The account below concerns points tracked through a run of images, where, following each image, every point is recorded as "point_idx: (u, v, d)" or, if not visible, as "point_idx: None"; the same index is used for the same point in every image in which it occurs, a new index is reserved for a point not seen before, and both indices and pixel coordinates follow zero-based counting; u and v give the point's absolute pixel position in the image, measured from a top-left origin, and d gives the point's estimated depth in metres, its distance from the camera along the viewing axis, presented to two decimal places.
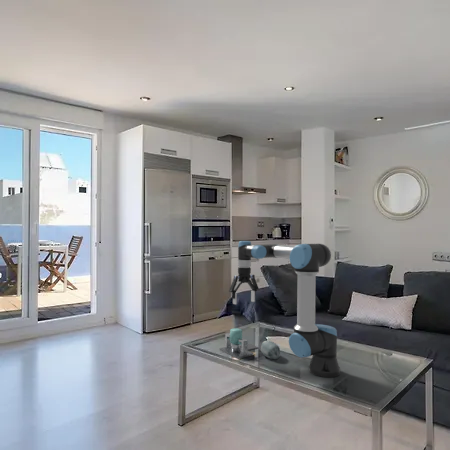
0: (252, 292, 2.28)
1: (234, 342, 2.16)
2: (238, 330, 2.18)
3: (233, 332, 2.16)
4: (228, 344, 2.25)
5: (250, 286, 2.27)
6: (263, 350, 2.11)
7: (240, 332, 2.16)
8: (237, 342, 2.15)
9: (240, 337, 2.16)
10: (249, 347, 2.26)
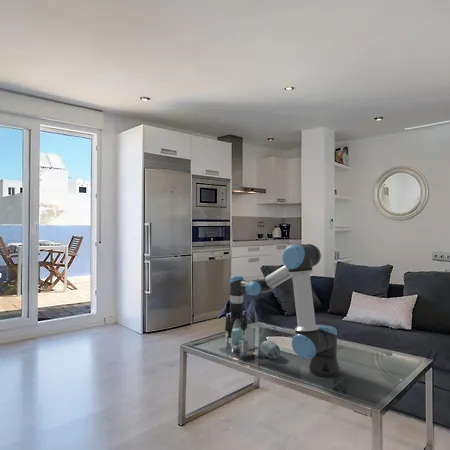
0: None
1: (234, 342, 2.16)
2: (238, 330, 2.18)
3: (233, 332, 2.16)
4: (228, 344, 2.25)
5: (239, 323, 2.21)
6: (263, 350, 2.11)
7: (240, 332, 2.16)
8: (237, 342, 2.15)
9: (240, 337, 2.16)
10: (249, 347, 2.26)
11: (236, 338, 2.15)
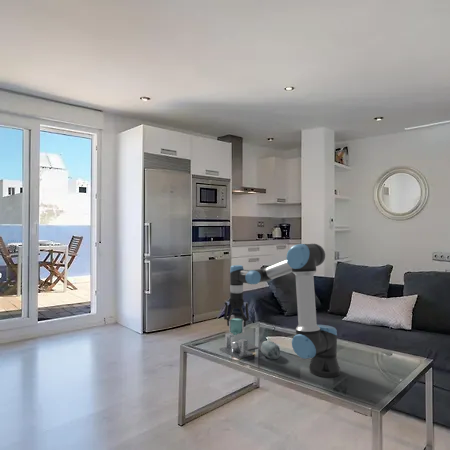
0: None
1: (231, 331, 2.17)
2: (237, 320, 2.17)
3: None
4: (228, 344, 2.25)
5: (242, 314, 2.19)
6: (263, 350, 2.11)
7: (236, 322, 2.15)
8: (233, 331, 2.16)
9: (236, 327, 2.15)
10: (249, 347, 2.26)
11: (232, 327, 2.16)
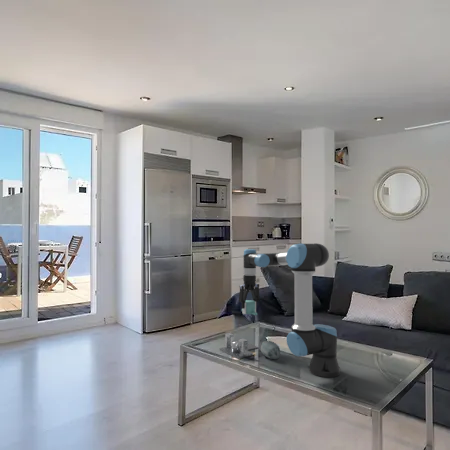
0: None
1: (247, 312, 2.25)
2: (251, 301, 2.27)
3: (246, 303, 2.25)
4: (228, 344, 2.25)
5: (252, 295, 2.31)
6: (263, 350, 2.11)
7: (253, 303, 2.26)
8: (250, 312, 2.25)
9: (253, 308, 2.26)
10: (249, 347, 2.26)
11: (249, 309, 2.25)
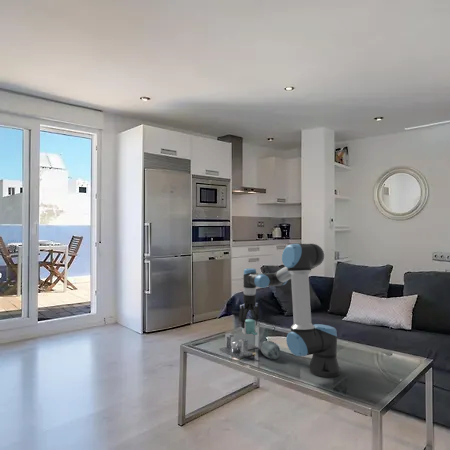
0: None
1: (247, 332, 2.25)
2: (251, 321, 2.27)
3: (246, 322, 2.25)
4: (228, 344, 2.25)
5: (252, 315, 2.31)
6: (263, 350, 2.11)
7: (253, 323, 2.26)
8: (250, 332, 2.25)
9: (253, 327, 2.26)
10: (249, 347, 2.26)
11: (249, 328, 2.25)
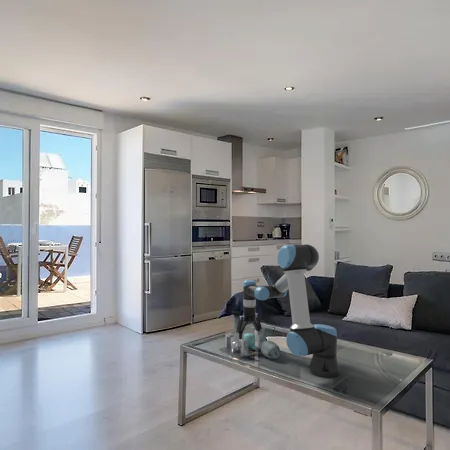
0: (255, 332, 2.31)
1: None
2: (251, 335, 2.27)
3: (246, 337, 2.25)
4: (228, 344, 2.25)
5: (254, 325, 2.31)
6: (263, 350, 2.11)
7: (253, 337, 2.26)
8: (250, 347, 2.25)
9: (253, 342, 2.26)
10: None
11: (249, 343, 2.25)
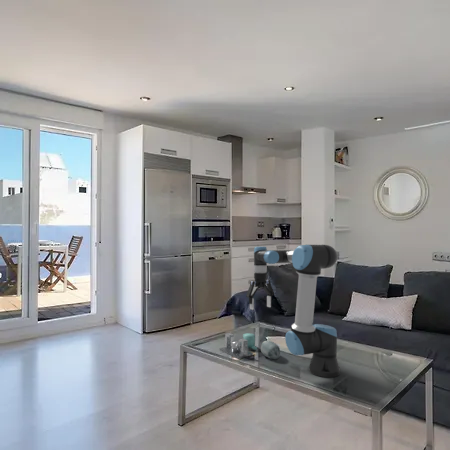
0: (268, 297, 2.29)
1: None
2: (251, 335, 2.27)
3: (246, 337, 2.25)
4: (228, 344, 2.25)
5: (266, 291, 2.29)
6: (263, 350, 2.11)
7: (253, 337, 2.26)
8: (250, 347, 2.25)
9: (253, 342, 2.26)
10: None
11: (249, 343, 2.25)
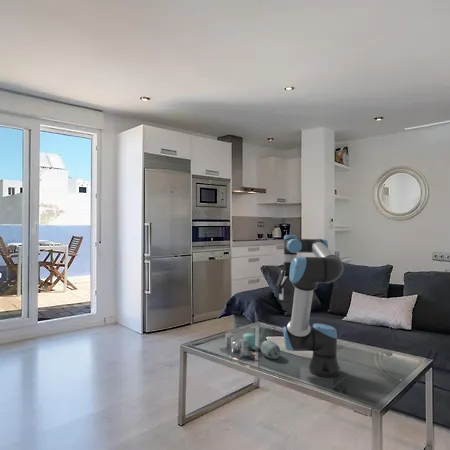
0: None
1: None
2: (251, 335, 2.27)
3: (246, 337, 2.25)
4: (228, 344, 2.25)
5: None
6: (263, 350, 2.11)
7: (253, 337, 2.26)
8: (250, 347, 2.25)
9: (253, 342, 2.26)
10: None
11: (249, 343, 2.25)
